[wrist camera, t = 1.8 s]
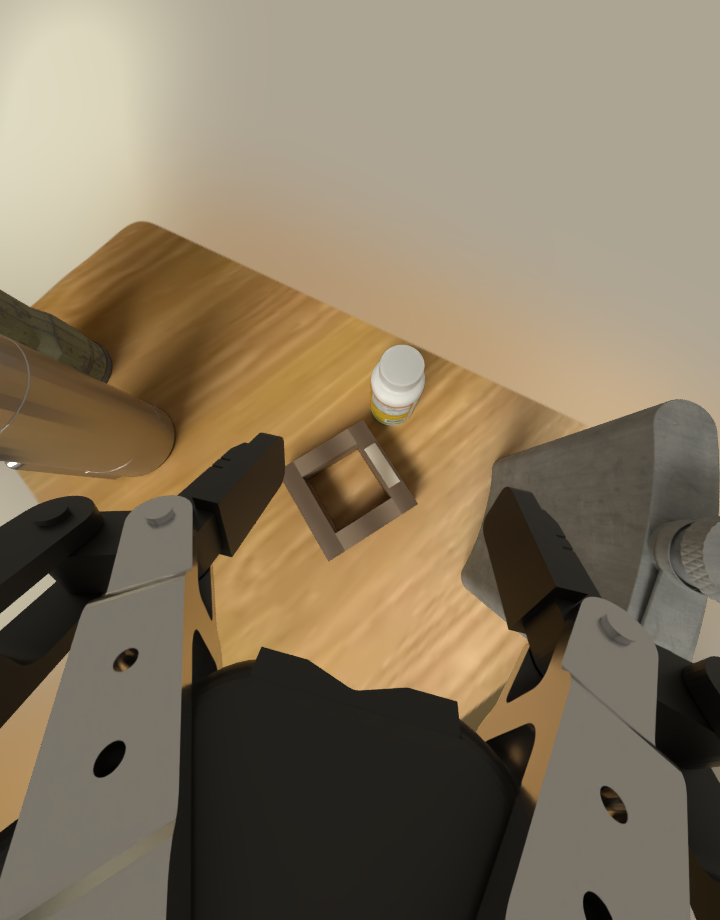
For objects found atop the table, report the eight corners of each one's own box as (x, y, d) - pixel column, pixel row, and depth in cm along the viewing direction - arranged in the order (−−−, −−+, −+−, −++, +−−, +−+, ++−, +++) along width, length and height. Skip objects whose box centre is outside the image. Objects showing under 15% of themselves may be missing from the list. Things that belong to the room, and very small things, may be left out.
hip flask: (496, 454, 31) (723, 366, 11) (529, 465, 31) (823, 396, 11) (457, 586, 29) (660, 766, 9) (493, 600, 28) (786, 820, 9)
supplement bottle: (390, 377, 33) (400, 325, 23) (421, 405, 32) (445, 363, 23) (360, 406, 32) (359, 364, 23) (392, 435, 32) (403, 405, 22)
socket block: (332, 555, 29) (328, 561, 26) (285, 474, 31) (276, 470, 28) (412, 504, 30) (418, 504, 27) (363, 427, 32) (362, 418, 29)
